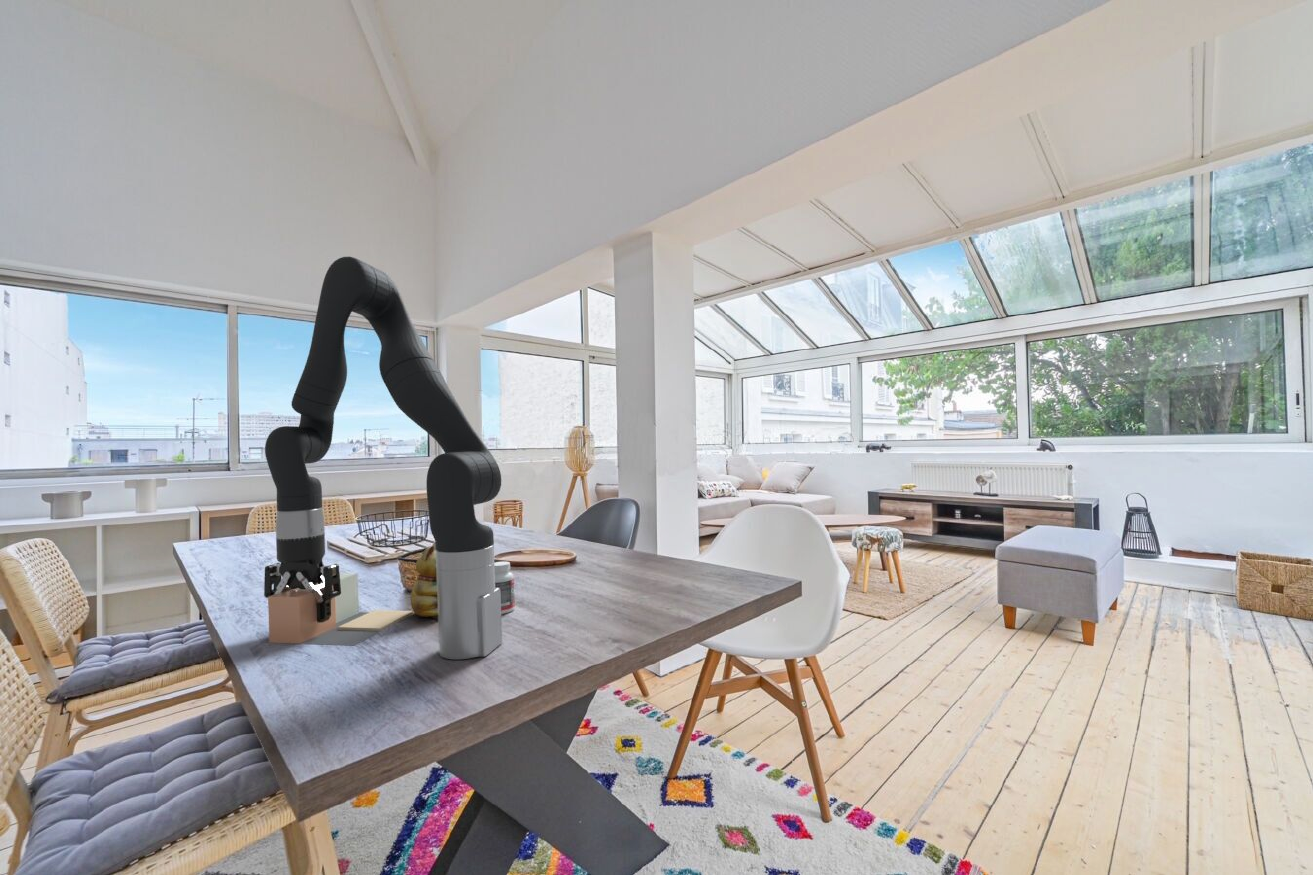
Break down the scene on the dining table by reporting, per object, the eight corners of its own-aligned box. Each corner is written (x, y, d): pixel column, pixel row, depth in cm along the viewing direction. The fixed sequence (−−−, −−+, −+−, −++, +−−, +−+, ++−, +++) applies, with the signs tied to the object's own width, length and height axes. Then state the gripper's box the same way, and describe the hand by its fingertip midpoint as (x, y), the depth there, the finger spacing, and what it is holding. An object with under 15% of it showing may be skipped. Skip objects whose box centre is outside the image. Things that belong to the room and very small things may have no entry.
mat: (415, 615, 109) (414, 611, 109) (354, 647, 92) (354, 642, 92) (333, 613, 113) (333, 609, 113) (260, 644, 96) (260, 639, 96)
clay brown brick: (336, 627, 103) (334, 584, 103) (300, 643, 94) (298, 597, 94) (307, 626, 104) (305, 584, 104) (269, 642, 96) (268, 596, 96)
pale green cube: (358, 612, 111) (357, 573, 111) (335, 623, 105) (333, 581, 105) (331, 612, 112) (330, 573, 112) (307, 622, 106) (305, 581, 106)
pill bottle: (518, 611, 109) (516, 563, 109) (492, 617, 106) (490, 568, 106) (510, 605, 114) (508, 559, 114) (484, 610, 111) (482, 563, 111)
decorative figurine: (443, 623, 104) (440, 546, 104) (401, 624, 104) (398, 547, 104) (461, 607, 113) (459, 537, 113) (423, 609, 113) (420, 538, 113)
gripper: (349, 530, 102) (352, 615, 102) (285, 530, 104) (287, 613, 104) (318, 537, 94) (320, 629, 94) (249, 537, 97) (252, 626, 97)
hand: (303, 620), depth 99 cm, fingers open, 8 cm apart
